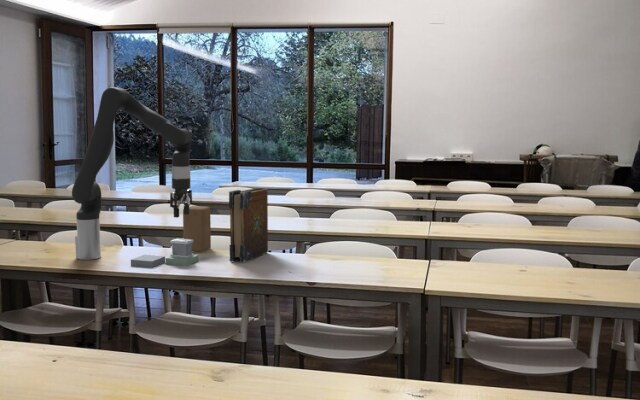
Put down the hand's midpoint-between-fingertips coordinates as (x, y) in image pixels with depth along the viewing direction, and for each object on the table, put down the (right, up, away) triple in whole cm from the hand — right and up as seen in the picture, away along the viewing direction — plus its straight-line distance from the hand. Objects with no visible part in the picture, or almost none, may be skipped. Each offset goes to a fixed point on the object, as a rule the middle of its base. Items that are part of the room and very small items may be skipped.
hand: (181, 215), depth 251 cm
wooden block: (+1, -17, +28) cm, 33 cm away
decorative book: (+27, -19, +14) cm, 36 cm away
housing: (0, -17, +2) cm, 17 cm away
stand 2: (0, -20, +2) cm, 20 cm away
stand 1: (-14, -20, -1) cm, 24 cm away
